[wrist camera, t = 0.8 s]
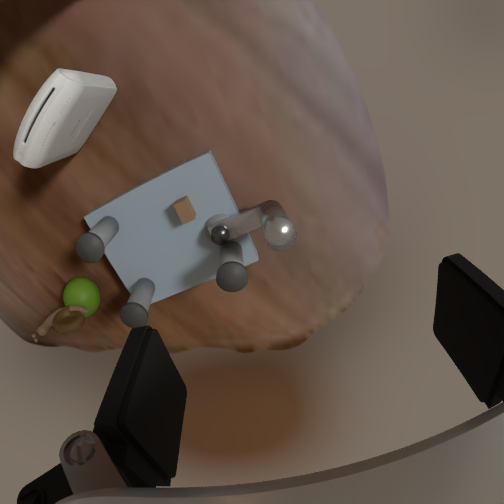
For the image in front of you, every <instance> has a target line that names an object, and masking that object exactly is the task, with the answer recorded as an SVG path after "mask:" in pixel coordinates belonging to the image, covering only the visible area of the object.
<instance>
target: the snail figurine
mask: <svg viewBox="0 0 504 504" xmlns="http://www.w3.org/2000/svg"><path fill="white" fill-rule="evenodd" d="M63 301H64V304H65V307H63V308H60V309H58V310H56V311H55V312H53V313H52V314H51V315H50V316H49V317H48V318H47V319H46V320H45V321H44V322H43V324H42V325H40V326H39V327H38V329H37V331H36V332H38V334H39V335H41V336H44V335H46V333H47V331H48V330H49V329H50V328H51V327H52V326H53V328H54V329H55V330H56V331H57V332H59V333H62V334H68V333H72V332H74V331H76V330H78V329H79V328H80V327H81V326H82V325H83V324H84V321H85V317H87V316H90V315H91V314H93V313H94V312H95V311H96V310H97V308H98V306H99V304H100V292H99V289H98V287H97V286H96V284H95V283H94V282H92V281H91V280H89V279H87V278H83V277H78V278H75V279H73V280H71V281H70V282H69V283H68V284H67V285H66V287H65V289H64V292H63ZM36 332H35V333H36ZM39 335H38V337H39ZM32 337H33V338H34V341H35V342H38V339H37V338H38V337H37V338H35V337H36V335H35V334H32Z"/></svg>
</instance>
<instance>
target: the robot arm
mask: <svg viewBox="0 0 504 504" xmlns="http://www.w3.org/2000/svg"><path fill="white" fill-rule="evenodd" d="M433 331H434V334H435V336H436V338H437V339H438V341H439V342H440V343H441V345H442V346H443V347H444V349H445V350H446V352H447V353H448V354H449V356H450V357H451V359H452V360H453V362H454V363H455V365H456V366H457V367H458V369H459V370H460V372H461V373H462V375H463V376H464V378H465V379H466V381H467V382H468V384H469V385H470V387H471V388H472V390H473V391H474V393H475V394H476V396H477V397H478V399H479V400H480V401H481V402H485V404H486V405H487V407H488V408H489V409H490V408H491V407H493V406H495V405H497V404H499V403H500V402H501V401H503V403H501V404H499V405H497V406H495V407H493V408H491V409H490V410H488V411H486V412H484V413H482V414H480V415H478V416H476V417H474V418H472V419H470V420H468V421H466V422H464V423H462V424H460V425H458V426H455V427H453V428H451V429H449V430H447V431H444V432H442V433H440V434H437V435H435V436H432V437H430V438H428V439H425V440H422V441H420V442H417V443H415V444H412V445H409V446H406V447H404V448H401V449H398V450H395V451H392V452H389V453H386V454H383V455H380V456H377V457H374V458H370V459H367V460H364V461H360V462H356V463H353V464H349V465H345V466H341V467H337V468H333V469H329V470H325V471H320V472H315V473H311V474H306V475H300V476H295V477H290V478H283V479H277V480H271V481H263V482H256V483H247V484H237V485H226V486H209V487H189V488H188V487H187V488H156V486H170V483H171V478H173V477H175V475H176V470H177V462H178V454H179V447H180V439H181V432H182V424H183V418H184V417H183V416H184V411H185V404H186V397H187V390H186V386H185V384H184V382H183V380H182V378H181V376H180V374H179V372H178V370H177V369H176V367H175V365H174V363H173V361H172V359H171V357H170V355H169V353H168V351H167V349H166V347H165V345H164V343H163V341H162V339H161V337H160V335H159V333H158V331H157V330H156V329H152V328H151V327H150V326H142V327H136V328H132V330H131V331H130V334H129V336H128V338H127V341H126V343H125V346H124V348H123V350H122V353H121V355H120V357H119V360H118V362H117V365H116V367H115V370H114V372H113V375H112V377H111V380H110V382H109V385H108V387H107V390H106V393H105V395H104V398H103V401H102V403H101V406H100V408H99V411H98V414H97V417H96V419H95V422H94V425H95V426H94V429H93V432H91V431H86V430H83V431H78V432H76V433H73V434H72V435H70V436H69V437H68V438H67V439H66V440H65V441H64V442H63V444H62V446H61V448H60V453H59V457H60V462H61V463H60V464H58V465H57V466H55V467H54V468H52V469H51V470H49V471H48V472H46V473H45V474H43V475H42V476H40V477H38V478H37V479H35V480H34V481H32V482H31V483H29V484H27V485H26V486H25V487H24V488H23V489H22V490H21V491H20V493H19V495H18V498H17V504H504V290H503V289H502V288H501V287H499V286H498V285H497V284H496V283H495V282H494V281H492V280H491V279H490V278H489V277H488V276H487V275H485V274H484V273H483V272H482V271H481V270H479V269H478V268H477V267H476V266H475V265H473V264H472V263H471V262H470V261H468V260H467V259H466V258H465V257H463V256H462V255H461V254H459V253H457V254H454V255H450V256H447V257H444V258H443V260H442V263H440V264H439V267H438V283H437V296H436V307H435V316H434V324H433Z"/></svg>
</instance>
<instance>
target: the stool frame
mask: <svg viewBox="0 0 504 504" xmlns="http://www.w3.org/2000/svg"><path fill="white" fill-rule="evenodd" d="M237 213H239V211H238V209H237V206H236V204H235V202H234V200H233V198H232V196H231V193H230V191H229V189H228V187H227V185H226V183H225V180H224V178H223V176H222V174H221V172H220V170H219V167H218V165H217V163H216V161H215V159H214V157H213V154H212V152H211V150H209V151H207V152H204V153H202V154H200V155H198V156H196V157H193V158H191V159H189V160H187V161H185V162H183V163H181V164H179V165H177V166H175V167H173V168H171V169H168V170H166V171H164V172H162V173H160V174H158V175H156V176H155V177H153V178H151V179H149V180H147V181H145V182H143V183H141V184H139V185H137V186H135V187H133V188H131V189H130V190H128V191H126V192H124V193H122V194H120V195H119V196H117V197H115V198H113V199H111V200H110V201H108V202H106V203H104V204H102V205H101V206H99V207H97V208H95V209H94V210H92V211H91V212H89V213H88V214H87V215H86V216H85V217H84V219H85V221H86V222H87V224H88V226H89V228H90V229H91V230H90V231H89V232H86V233H83V234H82V235H81V236H80V237H79V238H78V239H77V241H76V244H75V249H76V252H77V254H78V256H79V257H80V258H81V259H82V260H83V261H85V262H87V263H96V262H98V261H99V260H100V259H101V258H102V256H103V254H104V253H105V255H106V256H107V258H108V260H109V261H110V263H111V265H112V266H113V268H114V269H115V271H116V272H117V274H118V276H119V277H120V279H121V280H122V282H123V283H124V285H125V286H126V288H127V290H128V291H129V293H130V294H131V295H130V297H129V300H128V302H127V303H126V304H124V305H123V307H122V309H121V311H120V318H121V320H122V322H123V323H124V324H125V325H127V326H128V327H131V328H136V327H142V326H145V325H146V323H147V320H148V309H149V306H150V304H151V303H154V302H157V301H159V300H162V299H164V298H167V297H169V296H172V295H174V294H177V293H179V292H182V291H184V290H187V289H189V288H192V287H194V286H197V285H199V284H202V283H204V282H207V281H209V280H212V279H214V278H216V281H217V284H218V286H219V287H220V288H221V289H223V290H225V291H227V292H237V291H240V290H241V289H243V288H244V287H245V286H246V284H247V282H248V272H247V269H246V268H245V266H246V265H249V264H251V263H254V262H256V261H258V260H259V258H258V253H257V250H256V248H255V246H254V244H253V241H252V239H251V237H250V235H249V233H245V234H243V235H241V236H238V237H236V238H233V239H231V240H229V241H228V242H227V243H226V244H224V245H217V246H216V244H214V243H213V242H212V240H211V234H210V232H209V230H208V226H209V225H211V224H213V223H216V222H218V221H220V220H223V219H225V218H227V217H230V216H232V215H234V214H237Z"/></svg>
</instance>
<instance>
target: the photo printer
mask: <svg viewBox="0 0 504 504" xmlns="http://www.w3.org/2000/svg"><path fill="white" fill-rule="evenodd" d="M116 92H117V88H116V85H115V83H114V81H113V80H112V79H111V78H109V77H107V76H102V75H97V74H92V73H86V72H80V71H74V70H67V69H57V70H56V71H55V72H54V73H53V74H52V75H51V76H50V77H49V78H48V79H47V80H46V82H45V83H44V84H43V86H42V87H41V88H40V90H39V91H38V93H37V94H36V96H35V97H34V99H33V101H32V102H31V104H30V106H29V108H28V109H27V111H26V114H25V116H24V118H23V120H22V123H21V125H20V128H19V130H18V133H17V136H16V140H15V144H14V151H13V157H14V159H15V160H17V161H18V162H20V163H21V165H23V166H25V167H28V168H41V167H43V166H45V165H48V164H50V163H53V162H55V161H58V160H60V159H63V158H65V157H68V156H70V155H73V154H75V153H77V152H78V151H79V150H80V149H81V148H82V146H83V145H84V143H85V142H86V140H87V139H88V137H89V136H90V134H91V133H92V131H93V130H94V128H95V126H96V125H97V123H98V122H99V120H100V118H101V117H102V115H103V114H104V112H105V110H106V109H107V107H108V106H109V104H110V102H111V101H112V99H113V98H114V96H115V94H116Z"/></svg>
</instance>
